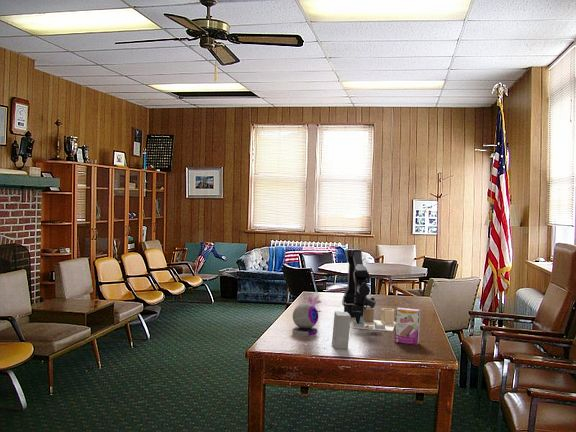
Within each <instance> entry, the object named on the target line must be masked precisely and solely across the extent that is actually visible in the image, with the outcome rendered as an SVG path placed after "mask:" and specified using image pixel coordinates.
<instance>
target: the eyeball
mask: <svg viewBox="0 0 576 432" xmlns="http://www.w3.org/2000/svg"><path fill="white" fill-rule="evenodd" d="M292 320H293V323H294V324H295V327H293V328H292V331H291V332H292V334H294V335H296V336H297V335H298V336H304V337H305V336H306V337H307V336H314V335H316V334H317V333H318V328H315V327H314V326H315V325H317V323H318V321H319V312H318V310H317V308H316V306H315V307H314V306H313V305H311V304H308V303H303V304H302V303H300V304H298V305H296V307H295V308H294V310H293V312H292Z"/></svg>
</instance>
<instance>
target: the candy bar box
mask: <svg viewBox="0 0 576 432" xmlns="http://www.w3.org/2000/svg"><path fill="white" fill-rule="evenodd" d="M395 322H396V325H395V327H394V329H395V331H394V343H396V344H397V343H398V344H406V345H414V346H417V345H419V342H420V325H421V324H420V323H421V309H415V308H408V307H407V308H406V307H397V308H396V309H395Z"/></svg>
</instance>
